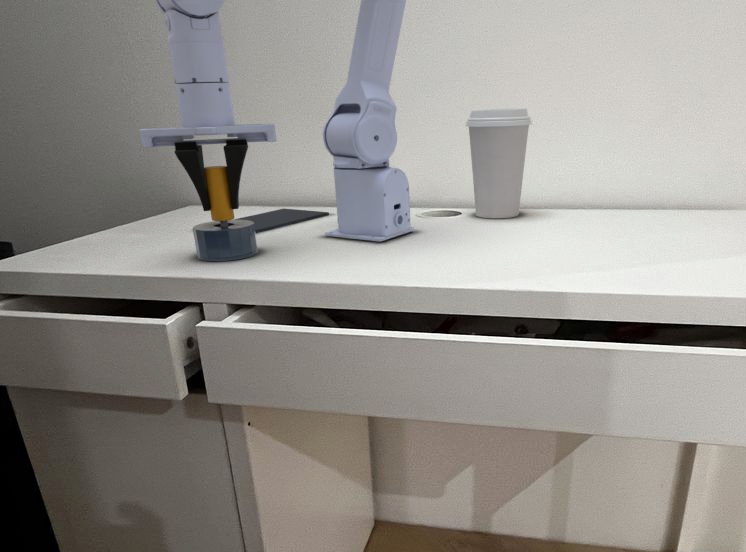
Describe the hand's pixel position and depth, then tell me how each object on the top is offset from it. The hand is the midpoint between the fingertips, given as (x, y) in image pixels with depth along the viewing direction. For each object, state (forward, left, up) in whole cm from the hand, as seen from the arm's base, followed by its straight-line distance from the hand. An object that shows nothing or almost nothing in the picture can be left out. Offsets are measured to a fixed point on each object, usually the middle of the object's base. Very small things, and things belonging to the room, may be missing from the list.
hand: (221, 208), depth 73 cm
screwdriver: (0, 0, -5) cm, 5 cm away
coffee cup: (-18, -37, -6) cm, 42 cm away
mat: (+12, -18, -6) cm, 22 cm away
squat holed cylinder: (0, 0, -6) cm, 6 cm away
